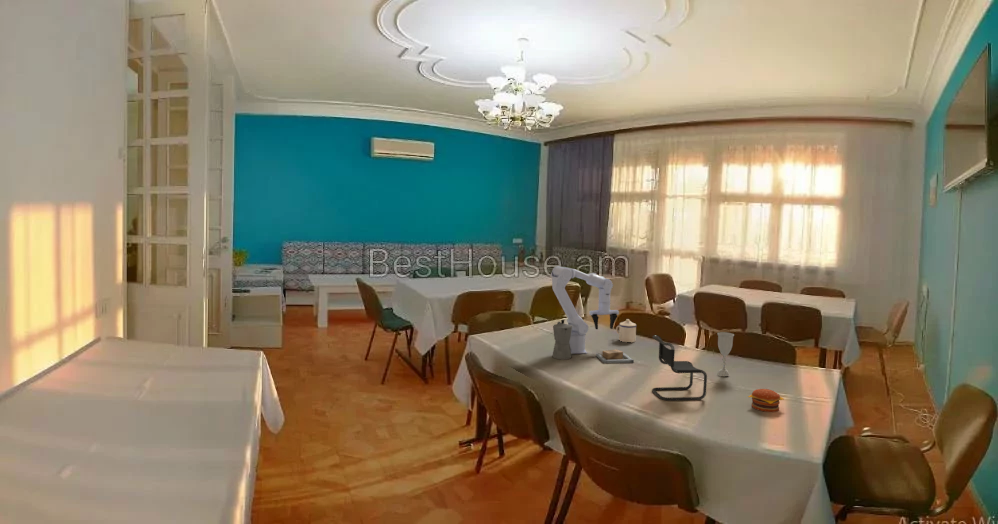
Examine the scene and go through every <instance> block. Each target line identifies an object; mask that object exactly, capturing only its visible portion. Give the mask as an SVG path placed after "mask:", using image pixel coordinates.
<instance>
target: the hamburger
mask: <svg viewBox="0 0 998 524" xmlns="http://www.w3.org/2000/svg"><path fill="white" fill-rule="evenodd" d="M747 397H748V398H751V399H752V402H751V407H752V408H754V409H756V410H757V411H762V412H766V413H774V412H778V411H780V406H779V405H780V401H784V400H785V398H783V397H782V396H781V394H779V393H777V392H776V391H774V390H771V389H768V388H757V389H755V390H753V391H752V393H751V394H750V395H749V396H747Z"/></svg>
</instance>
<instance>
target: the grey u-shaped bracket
mask: <svg viewBox="0 0 998 524" xmlns="http://www.w3.org/2000/svg"><path fill="white" fill-rule="evenodd" d="M595 356H596V357H597V358H598V359H599V360H600V361H601V362H603V364H627V363H628V364H630V363H631V364H633V363H635V362H634V361H635V360H634V359H633V358H631V357H630V356H629V355H628V354H627V353H625V352H623V359H618V360H606V359H605V358H604V357H603V356H602V354H601V353H596V354H595Z"/></svg>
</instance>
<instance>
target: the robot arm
mask: <svg viewBox="0 0 998 524" xmlns="http://www.w3.org/2000/svg"><path fill="white" fill-rule="evenodd" d="M550 277H551V285H552V287H551V288H552V291H553V292H554V295H555V296H556V298H557V300H558V302H559V305H560V306H561V308H562V309H563V312H564V313H565V315H566V318H567V320H566V322H567V324H568V325H571V326H572V331H571V337H570V340H569V344H570V349H571V355H573V354H574V355H575V354H588V352H587V350H586V336H587V333H588V332H589V325H588V323H586V321H584V319H583V318H582V317H581V316H580V315H579V314H578V311H577V310H576V308H575V306H574V304H573V302H572V300H571V298H570V296H569V294H568V292H567V290H566V286H567V285H568V283H569V282H570V281H571V279H574V278H577V279H581V280H584V281H585V282H586V284H587V285H589V286H592V287H595V288H597V289H598V309H595V310H589V316H590V317H591V318H592V322H593V324H594V329H595V330H599V323H598V322H599V318H600V317H599V315H600V316H603V315H605V316H606V315H609V328H610V329H611V330H614V329H613V328H614V324H615V322H616V320H617V318H618V315H619V314H620V311H619V310H618V309H611V293H612V289H613V287H614V283H613V282H612V280H611V279H609V278H605V276H603V275H598V274H597V272H590V273H585V272H582V271H580V270H578V269H575V268H571V267H565V266H561V265H556V266H554V267H553V268H552V271H551V273H550Z"/></svg>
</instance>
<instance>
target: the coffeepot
mask: <svg viewBox="0 0 998 524" xmlns="http://www.w3.org/2000/svg"><path fill="white" fill-rule="evenodd" d="M552 328H553V329H552V331H553V337H554V341H555V342H554V346H553V352H552V358H554V359H557V360H569V359H571V358H572V354H571V349H570V344H569V340H570V337H571V331H572V326H571V325H568V323H565V319H561V321H558V322H557V323H555V324H553V325H552Z"/></svg>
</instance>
